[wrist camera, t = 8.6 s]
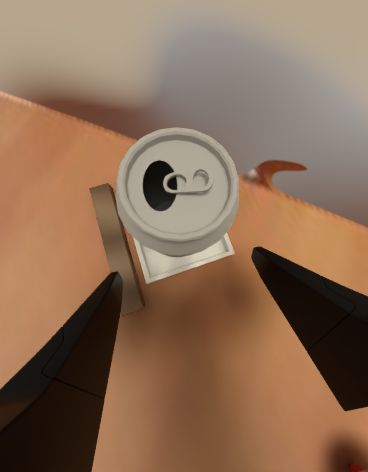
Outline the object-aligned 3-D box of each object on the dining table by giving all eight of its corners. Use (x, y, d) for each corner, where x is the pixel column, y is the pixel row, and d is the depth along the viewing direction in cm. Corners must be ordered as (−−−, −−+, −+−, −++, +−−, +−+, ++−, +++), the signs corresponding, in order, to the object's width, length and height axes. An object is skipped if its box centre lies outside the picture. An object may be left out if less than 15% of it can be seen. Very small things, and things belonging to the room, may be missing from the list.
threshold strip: (145, 305, 18) (142, 308, 17) (125, 312, 17) (121, 316, 16) (112, 187, 20) (108, 183, 19) (94, 192, 20) (89, 188, 18)
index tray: (229, 254, 19) (234, 253, 18) (149, 281, 18) (146, 284, 17) (202, 180, 21) (204, 173, 19) (126, 201, 20) (121, 196, 18)
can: (148, 202, 19) (102, 111, 7) (204, 200, 20) (244, 112, 8) (149, 259, 18) (97, 259, 6) (208, 255, 19) (263, 250, 7)
